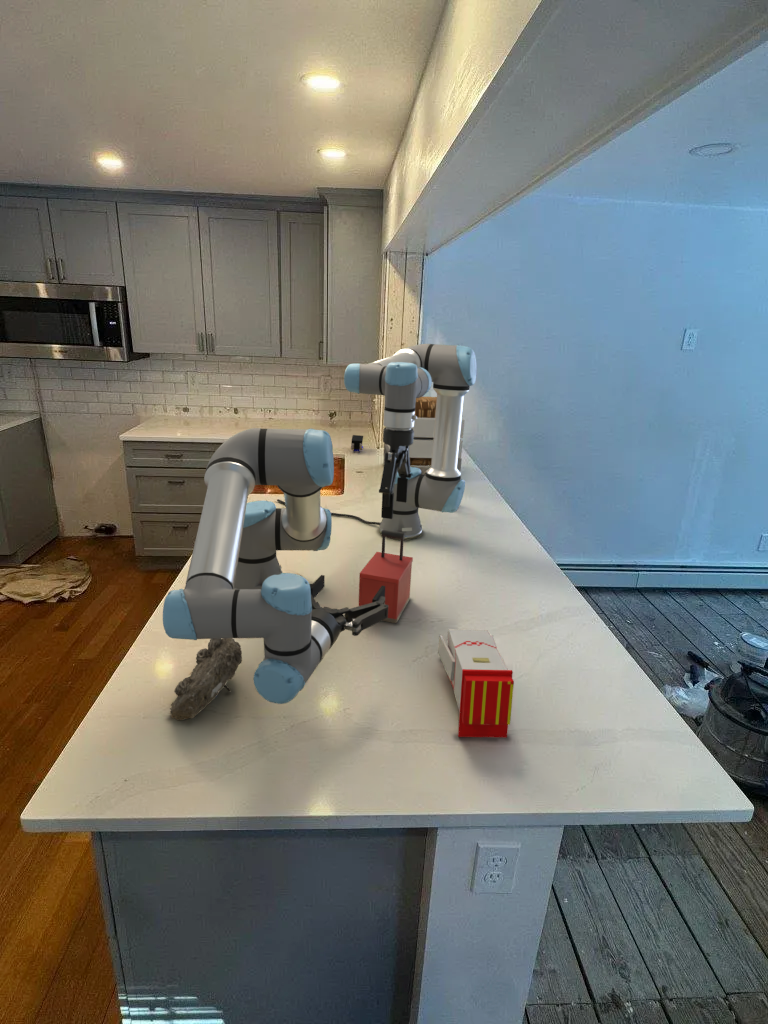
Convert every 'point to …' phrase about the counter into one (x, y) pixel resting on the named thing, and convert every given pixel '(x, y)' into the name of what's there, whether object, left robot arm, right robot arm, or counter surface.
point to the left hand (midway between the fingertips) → (352, 586)
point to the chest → (387, 594)
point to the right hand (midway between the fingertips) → (394, 509)
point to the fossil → (206, 677)
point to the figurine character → (356, 443)
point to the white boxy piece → (425, 434)
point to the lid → (387, 562)
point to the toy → (478, 682)
